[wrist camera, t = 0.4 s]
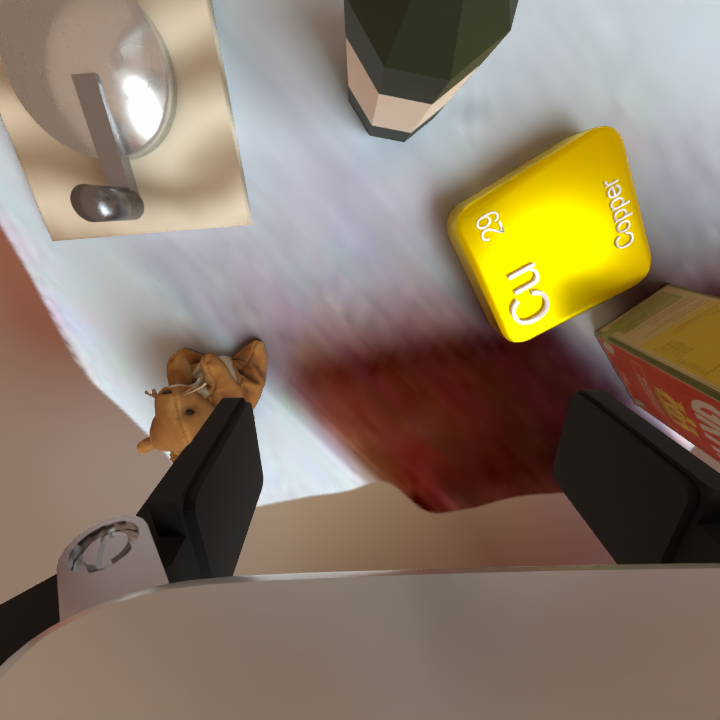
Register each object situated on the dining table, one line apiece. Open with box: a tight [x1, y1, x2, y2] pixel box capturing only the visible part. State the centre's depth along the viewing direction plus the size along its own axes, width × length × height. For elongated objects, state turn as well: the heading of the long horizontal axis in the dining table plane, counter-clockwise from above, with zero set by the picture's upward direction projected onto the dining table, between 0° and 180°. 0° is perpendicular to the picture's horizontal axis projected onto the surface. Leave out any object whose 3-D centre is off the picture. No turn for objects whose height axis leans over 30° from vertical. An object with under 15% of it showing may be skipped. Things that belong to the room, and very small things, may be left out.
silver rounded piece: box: [0, 0, 177, 222], centre depth 26 cm, size 19×12×7 cm, turn 4°
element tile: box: [446, 126, 651, 343], centre depth 34 cm, size 15×15×5 cm
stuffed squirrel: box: [137, 340, 267, 463], centre depth 36 cm, size 10×14×13 cm
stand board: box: [0, 0, 253, 241], centre depth 29 cm, size 24×19×2 cm
